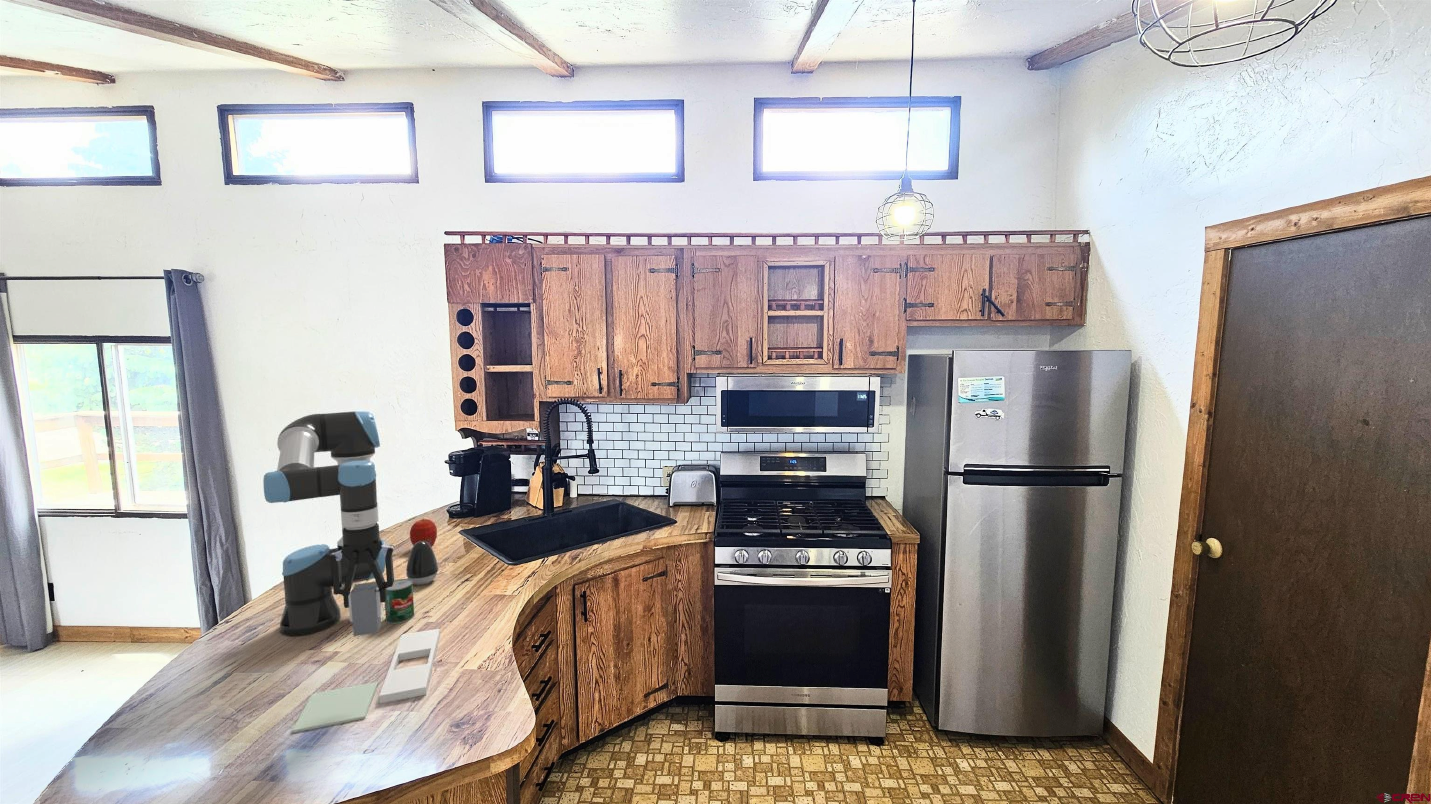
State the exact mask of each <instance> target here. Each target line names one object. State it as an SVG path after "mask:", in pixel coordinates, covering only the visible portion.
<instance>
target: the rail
mask: <svg viewBox="0 0 1431 804" xmlns="http://www.w3.org/2000/svg"><path fill="white" fill-rule="evenodd" d="M440 638H441V628H434V629H430V630H428V629H427V630H422V631H415V632H410V633H404V634H401V635H400V637H399V640H398V644H397V647H396V648H395V652H394V654H393V657H392V658H391V659H392V660H391V662H390V666H389V668H388V671H387V673H386V675H385V676H386V677H385V679H384V681H383V685H382V687H381V690H380V693H379V694H378V699H379V704H384V703H389V702H394V701H400V700H404V699H405V700H406V699H410V698H414V697H415V698H416V697H421V696H425V695H427V694H428V693H427V692H428V689H429V684H430V680H431V676H432V671H433V668H434V667H433V666H434V663H435V658H436V654H437V650H438V645H439V641H440ZM422 657H428V659H427V663H424V664H417V665H411V666H406V667H401V668H398V664H399V662H400V661H404V660H405V661H406V660H410V659H411V660H412V659H415V658H416V659H417V658H422Z"/></svg>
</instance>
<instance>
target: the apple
mask: <svg viewBox="0 0 1431 804" xmlns="http://www.w3.org/2000/svg"><path fill="white" fill-rule="evenodd" d="M437 537H438V528H437V525H436V523H435V522H434V521H433V520H431V519H427V518H422V519H420V520H417V521H415V522H414V523H413V524H412V526H411V527H410V529H409V539H410V543H411V544H412V547H413V546H414V544H415V543H417V542H419V541H425V542H426V541H427V540H428V539H431V541H430V543H429V545H430V546H431V548H433V546H434V545H435V543H436V540H437Z"/></svg>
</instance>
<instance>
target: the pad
mask: <svg viewBox="0 0 1431 804" xmlns="http://www.w3.org/2000/svg"><path fill="white" fill-rule="evenodd" d="M378 685H379V681H375V682H374V681H373V682H370V683H363V684H362V683H361V684H358V685H353V686H346V687H342V688H341V687H340V688H337V689H332V690H331V689H330V690H324V691H320V692H315V693H311V696H310V697H309V699H308V701H307V702H306V705H305V707H304V708H303V710H302V711H301V714H300V715H299V718H298V719H297V721H296V723H295V725H294V726H293V728H292V729H291V734H293V733H300V732H306V731H310V730H314V729H319V728H325V727H330V726H334V725H340V724H345V723H350V722H354V721H360V720H365V719H366V717H367V714H368V712H369V708H370V707H371V704H372V702H373V699H374V696H375V693H376V691H377V688H378Z"/></svg>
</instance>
